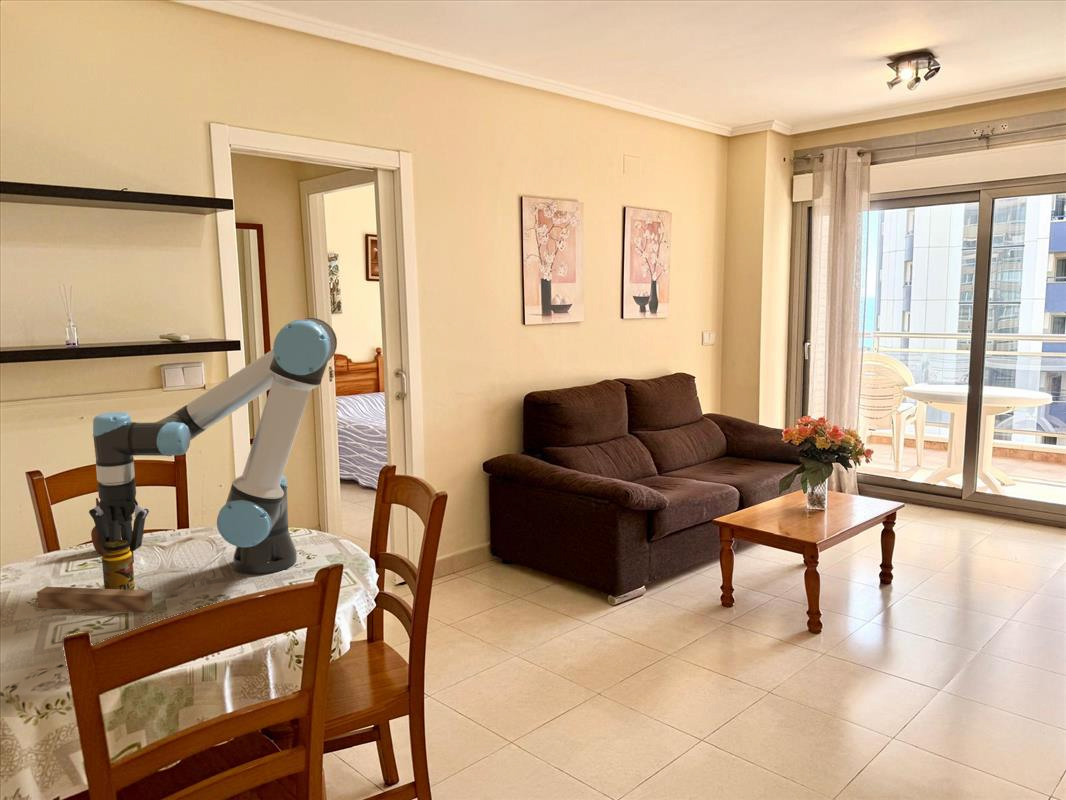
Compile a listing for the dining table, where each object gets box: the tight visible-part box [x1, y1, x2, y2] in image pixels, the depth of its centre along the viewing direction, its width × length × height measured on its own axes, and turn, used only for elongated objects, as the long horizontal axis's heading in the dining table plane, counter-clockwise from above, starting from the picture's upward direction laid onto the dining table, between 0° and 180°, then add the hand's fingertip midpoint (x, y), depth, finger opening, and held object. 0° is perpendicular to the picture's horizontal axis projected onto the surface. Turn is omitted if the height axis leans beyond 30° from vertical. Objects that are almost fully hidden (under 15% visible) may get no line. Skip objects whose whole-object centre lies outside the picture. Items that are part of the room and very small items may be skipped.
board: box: [36, 586, 154, 613], centre depth 163 cm, size 24×3×4 cm, turn 87°
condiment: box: [101, 539, 138, 590], centre depth 169 cm, size 7×8×12 cm
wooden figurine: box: [90, 497, 121, 555], centre depth 196 cm, size 7×6×15 cm
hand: (124, 577), depth 175 cm, fingers closed
